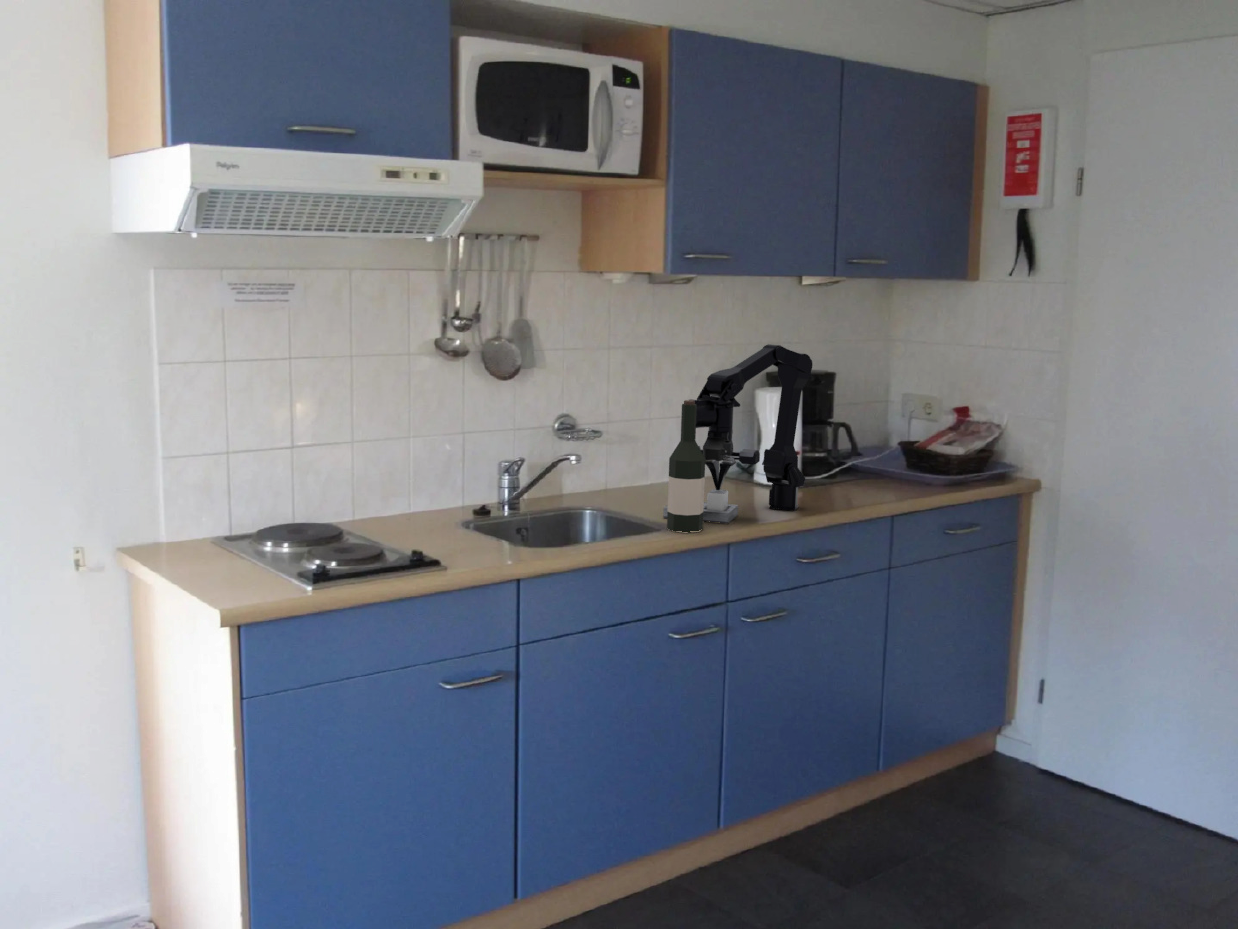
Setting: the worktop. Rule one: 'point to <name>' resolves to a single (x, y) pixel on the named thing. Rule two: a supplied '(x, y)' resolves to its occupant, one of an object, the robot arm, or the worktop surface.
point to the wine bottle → (686, 477)
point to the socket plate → (715, 514)
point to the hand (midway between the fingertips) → (718, 489)
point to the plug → (717, 500)
